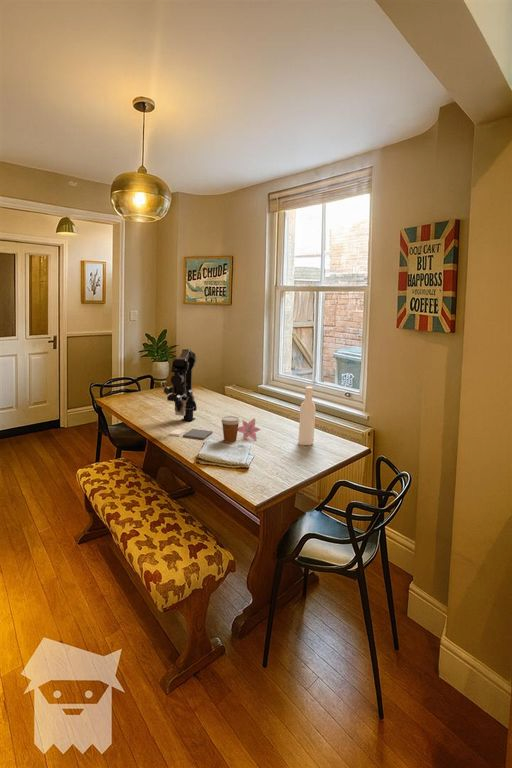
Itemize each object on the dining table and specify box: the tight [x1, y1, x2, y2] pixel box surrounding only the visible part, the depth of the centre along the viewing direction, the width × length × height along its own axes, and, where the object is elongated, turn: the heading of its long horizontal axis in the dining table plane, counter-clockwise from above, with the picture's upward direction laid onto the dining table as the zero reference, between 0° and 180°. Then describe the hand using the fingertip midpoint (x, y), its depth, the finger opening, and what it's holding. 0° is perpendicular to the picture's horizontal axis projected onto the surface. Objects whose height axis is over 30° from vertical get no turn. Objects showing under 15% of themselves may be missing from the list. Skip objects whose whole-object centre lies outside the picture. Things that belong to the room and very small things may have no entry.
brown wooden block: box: [174, 400, 186, 417], centre depth 227 cm, size 3×5×8 cm, turn 74°
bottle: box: [297, 386, 317, 446], centre depth 218 cm, size 8×8×30 cm
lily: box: [238, 418, 261, 441], centre depth 226 cm, size 12×12×10 cm
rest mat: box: [182, 428, 214, 440], centre depth 227 cm, size 12×12×1 cm
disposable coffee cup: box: [221, 415, 241, 443], centre depth 219 cm, size 10×10×12 cm
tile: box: [169, 428, 187, 437], centre depth 229 cm, size 2×6×8 cm
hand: (180, 410), depth 228 cm, fingers closed on brown wooden block, 3 cm apart
